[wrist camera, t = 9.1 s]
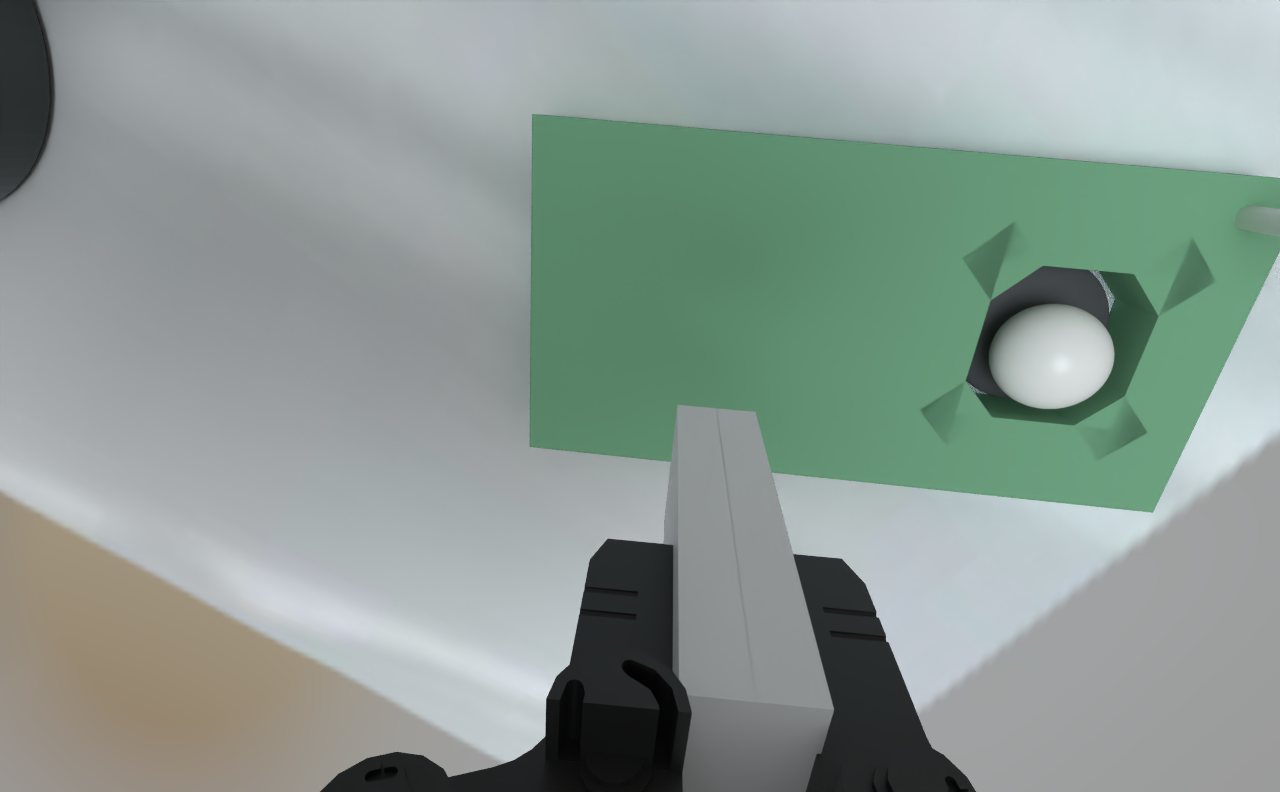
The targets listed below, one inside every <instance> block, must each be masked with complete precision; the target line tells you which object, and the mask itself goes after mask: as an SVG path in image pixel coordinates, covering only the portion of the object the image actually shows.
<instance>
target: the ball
mask: <svg viewBox="0 0 1280 792" xmlns="http://www.w3.org/2000/svg"><path fill="white" fill-rule="evenodd" d="M1114 355H1115V354H1114V346H1113V341H1112V339H1111V336H1110V334H1109V333H1108V331H1107V329H1106V328H1105V327H1104V325H1103V324H1102V323H1101V322H1100V321H1099V320H1098V319H1097V318H1096V317H1094V316H1093V315H1091V314H1090V313H1088V312H1086V311H1084V310H1082V309H1080V308H1077V307H1074V306H1070V305H1065V304H1043V305H1037V306H1034V307H1030V308H1027V309H1025V310H1023V311H1020V312H1019V313H1017V314H1015V315H1014V316H1012V317H1011V318H1009V319H1008V320H1007V321H1006V322H1005V323H1004V324H1003V325H1002V326H1001V327H1000V328H999V330H998V331H997V333H996V334H995V336H994V338H993V340H992V343H991V346H990V350H989V367H990V371H991V374H992V376H993V378H994V380H995V382H996V383H997V385H998V386H999V387H1000V389H1001V390H1002V391H1003V392H1004V393H1005V394H1007V395H1008V396H1009V397H1011V398H1012V399H1014V400H1015V401H1017V402H1019V403H1022V404H1024V405H1027V406H1030V407H1034V408H1041V409H1059V408H1065V407H1069V406H1072V405H1075V404H1078V403H1080V402H1082V401H1084V400H1086V399H1088V398H1089V397H1091V396H1092V395H1093V394H1094V393H1096V392H1097V391H1098V390H1099V389H1100V388H1101V387H1102V386H1103V385H1104V383H1105V382H1106V380H1107V379H1108V377H1109V375H1110V373H1111V370H1112V368H1113V363H1114Z"/></svg>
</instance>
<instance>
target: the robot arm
mask: <svg viewBox="0 0 1280 792" xmlns="http://www.w3.org/2000/svg"><path fill="white" fill-rule="evenodd" d="M49 100H50V87H49V72H48V62H47V56H46V51H45V45H44V41H43V37H42V32H41V28H40V25H39V21H38V18H37V15H36V11H35V9H34V6H33V3H32V0H0V200H1V199H3V198H4V197H5V196H7V195H8V194H9V193H11V192H12V191H13V190H14V189H15V188H16V187H17V186H18V185H19V184H20V183H21V182H22V180H23V179H24V178H25V177H26V175H27V174H28V172H29V171H30V169H31V168H32V166H33V164H34V162H35V160H36V158H37V156H38V154H39V151H40V149H41V146H42V143H43V140H44V136H45V132H46V127H47V122H48V114H49ZM320 792H976V791H975V789H974V788H973V786H972V785H971V783H970V781H969V780H968V778H967V777H966V776H965V775H964V774H963V773H962V772H961V771H960V770H959V769H958V768H957V767H956V766H955V765H954V764H952V762H950V761H949V760H948V759H947V758H946V757H945V756H944V755H943V754H941V753H939V752H938V751H936V750H934V749H932V747H931V745H930V743H929V741H928V739H927V737H926V735H925V732H924V730H923V727H922V725H921V722H920V720H919V717H918V715H917V712H916V710H915V707H914V705H913V702H912V700H911V697H910V695H909V692H908V690H907V687H906V685H905V682H904V680H903V677H902V675H901V672H900V670H899V667H898V665H897V662H896V660H895V657H894V655H893V652H892V650H891V647H890V645H889V642H886V635H885V632H884V630H883V627H882V625H881V622H880V620H879V618H877V617H876V610H875V607H874V605H873V602H872V600H871V597H870V595H869V592H868V590H867V587H866V585H865V583H864V582H863V581H862V580H861V579H860V578H859V577H858V576H857V575H856V574H855V573H854V571H853V570H852V569H851V568H850V567H849V566H848V565H847V564H846V563H845V562H844V561H843V560H842V559H838V558H827V557H817V556H806V555H796V554H793V552H792V548H791V545H790V541H789V537H788V533H787V529H786V526H785V522H784V518H783V514H782V510H781V507H780V503H779V499H778V495H777V491H776V488H775V484H774V480H773V476H772V473H771V469H770V465H769V461H768V457H767V454H766V450H765V446H764V442H763V438H762V435H761V431H760V427H759V423H758V419H757V416H756V412H751V411H741V410H730V409H719V408H708V407H697V406H686V405H677V414H676V423H675V431H674V440H673V449H672V458H671V467H670V476H669V485H668V493H667V502H666V511H665V520H664V544H657V543H647V542H636V541H626V540H615V539H607V540H606V542H605V543H604V544H603V545H602V546H601V547H600V549H599V550H598V551H597V552H596V553H595V554H594V556H593V557H592V558H591V559H590V562H589V567H588V572H587V578H586V583H585V590H584V593H583V598H582V604H581V609H580V615H579V619H578V624H577V630H576V635H575V640H574V645H573V650H572V656H571V661H570V665H569V666H568V667H566V668H565V669H564V670H563V671H562V672H561V673H560V674H559V675H558V676H557V677H556V679H555V681H554V683H553V685H552V688H551V690H550V692H549V694H548V696H547V698H546V737H545V738H543V739H542V740H541V741H540V742H539V743H538V744H537V745H536V746H535V747H534V748H533V749H532V750H530V751H528V752H527V753H525V754H523V755H522V756H520V757H518V758H517V759H515V760H513V761H510V762H507V763H504V764H501V765H498V766H495V767H492V768H488V769H484V770H479V771H474V772H470V773H466V774H461V775H457V776H452V777H448V776H447V774H446V772H445V771H444V769H443V768H441V767H440V766H438V765H437V764H435V763H434V762H432V761H430V760H429V759H428V758H426V757H424V756H422V755H415V754H408V753H401V752H394V753H389V754H385V755H380V756H375V757H370V758H367V759H365V760H363V761H361V762H359V763H358V764H356V765H354V766H352V767H351V768H349V769H347V770H345V771H343V772H341V773H339V774H338V775H337V776H336V777H335V778H334V779H333V780H332V781H331V782H330V783H329V784H328V785H327V786H326V787H325V788H323V789H322V790H321V791H320Z"/></svg>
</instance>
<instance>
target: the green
mask: <svg viewBox="0 0 1280 792" xmlns="http://www.w3.org/2000/svg"><path fill="white" fill-rule="evenodd" d="M1279 251H1280V178H1273V177H1262V176H1251V175H1239V174H1227V173H1216V172H1204V171H1192V170H1181V169H1169V168H1157V167H1146V166H1134V165H1122V164H1111V163H1099V162H1087V161H1076V160H1064V159H1052V158H1040V157H1029V156H1017V155H1005V154H994V153H982V152H970V151H959V150H947V149H935V148H924V147H912V146H900V145H889V144H877V143H865V142H854V141H842V140H830V139H819V138H807V137H795V136H784V135H772V134H760V133H749V132H737V131H725V130H714V129H702V128H690V127H679V126H667V125H655V124H644V123H632V122H620V121H608V120H597V119H585V118H573V117H562V116H550V115H536V114H532V227H531V346H530V447H537V448H546V449H556V450H565V451H575V452H584V453H593V454H603V455H612V456H622V457H631V458H641V459H650V460H660V461H669V462H671V458H672V449H673V440H674V431H675V423H676V414H677V405H686V406H697V407H708V408H719V409H730V410H741V411H751V412H756V416H757V419H758V423H759V427H760V431H761V435H762V438H763V442H764V446H765V450H766V454H767V457H768V461H769V465H770V469H771V472H774V473H783V474H793V475H802V476H811V477H821V478H830V479H840V480H849V481H859V482H868V483H878V484H887V485H897V486H906V487H916V488H925V489H935V490H944V491H954V492H963V493H973V494H982V495H992V496H1001V497H1011V498H1020V499H1030V500H1039V501H1048V502H1058V503H1067V504H1077V505H1086V506H1096V507H1105V508H1115V509H1124V510H1134V511H1143V512H1153V511H1154V509H1155V507H1156V505H1157V503H1158V501H1159V499H1160V497H1161V495H1162V493H1163V491H1164V489H1165V486H1166V484H1167V482H1168V480H1169V478H1170V476H1171V474H1172V472H1173V470H1174V468H1175V466H1176V464H1177V462H1178V460H1179V458H1180V456H1181V453H1182V451H1183V449H1184V447H1185V445H1186V443H1187V441H1188V439H1189V437H1190V435H1191V433H1192V431H1193V429H1194V427H1195V425H1196V423H1197V420H1198V418H1199V416H1200V414H1201V412H1202V410H1203V408H1204V406H1205V404H1206V402H1207V400H1208V398H1209V396H1210V394H1211V392H1212V390H1213V387H1214V385H1215V383H1216V381H1217V379H1218V377H1219V375H1220V373H1221V371H1222V369H1223V367H1224V365H1225V363H1226V361H1227V359H1228V357H1229V354H1230V352H1231V350H1232V348H1233V346H1234V344H1235V342H1236V340H1237V338H1238V336H1239V334H1240V332H1241V330H1242V328H1243V326H1244V324H1245V321H1246V319H1247V317H1248V315H1249V313H1250V311H1251V309H1252V307H1253V305H1254V303H1255V301H1256V299H1257V297H1258V295H1259V293H1260V291H1261V288H1262V286H1263V284H1264V282H1265V280H1266V278H1267V276H1268V274H1269V272H1270V270H1271V268H1272V266H1273V264H1274V262H1275V260H1276V258H1277V255H1278V253H1279ZM1089 270H1096V271H1100V273H1101V275H1102V276H1103V278H1104V280H1105V281H1106V283H1107V285H1108V286H1109V288H1110V290H1111V292H1112V293H1113V295H1114V297H1115V298H1116V300H1115V302H1114V305H1113V307H1112V310H1111V313H1110V315H1109V307H1108V300H1107V297H1106V293H1105V291H1104V289H1103V287H1102V285H1101V283H1100V282H1099V281H1098V279H1097V278H1096V277H1095V276H1094V275H1093V274H1092V273H1091V272H1090V271H1089ZM1043 304H1065V305H1070V306H1074V307H1077V308H1080V309H1082V310H1084V311H1086V312H1088V313H1090V314H1091V315H1093V316H1094V317H1096V318H1097V319H1098V320H1099V321H1100V322H1101V323H1102V324H1103V325H1104V327H1105V328H1106V329H1107V331H1108V333H1109V334H1110V336H1111V339H1112V341H1113V346H1114V354H1115V355H1114V363H1113V368H1112V370H1111V373H1110V375H1109V377H1108V379H1107V380H1106V382H1105V383H1104V385H1103V386H1102V387H1101V388H1100V389H1099V390H1098V391H1097V392H1096V393H1094V394H1093V395H1092V396H1091V397H1089V398H1088V399H1086V400H1084V401H1082V402H1080V403H1078V404H1075V405H1072V406H1069V407H1065V408H1059V409H1041V408H1034V407H1030V406H1027V405H1024V404H1022V403H1019V402H1017V401H1015V400H1014V399H1012V398H1011V397H1009V396H1008V395H1007V394H1005V393H1004V392H1003V391H1002V390H1001V389H1000V387H999V386H998V385H997V383H996V382H995V380H994V378H993V376H992V374H991V371H990V367H989V350H990V346H991V343H992V340H993V338H994V336H995V334H996V333H997V331H998V330H999V328H1000V327H1001V326H1002V325H1003V324H1004V323H1005V322H1006V321H1007V320H1008V319H1009V318H1011V317H1012V316H1014V315H1015V314H1017V313H1019V312H1020V311H1023V310H1025V309H1027V308H1030V307H1034V306H1037V305H1043ZM966 380H967V381H968V382H969V383H970V384H971V385H972V386H974V387H975V388H977V389H979V390H980V391H982V392H985V393H987V394H990V395H986V394H976V393H974V392H973V390H972V389H971V387H970V386H969V385H968V383H967V382H966Z"/></svg>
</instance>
